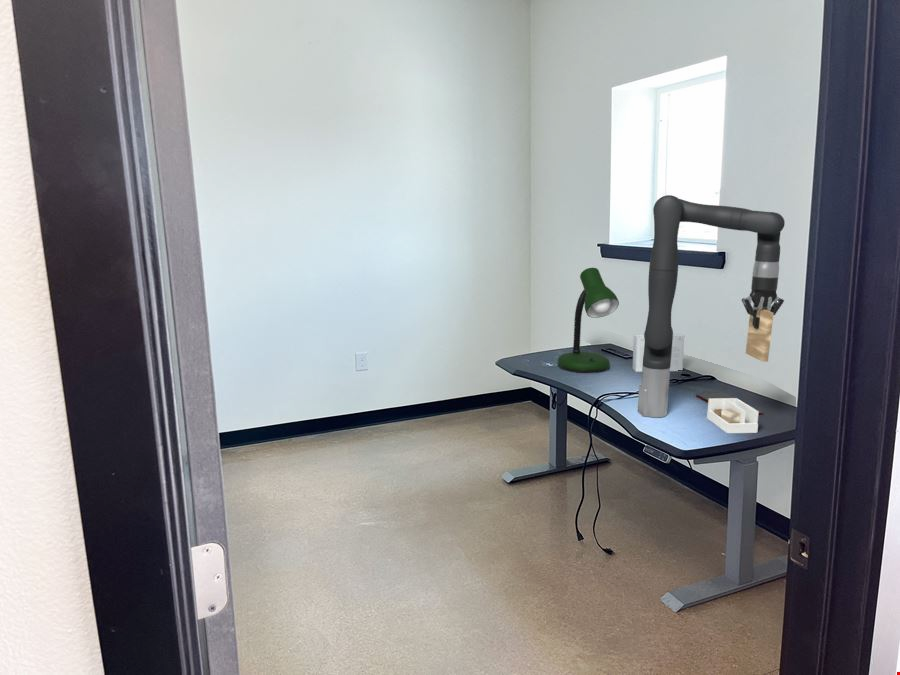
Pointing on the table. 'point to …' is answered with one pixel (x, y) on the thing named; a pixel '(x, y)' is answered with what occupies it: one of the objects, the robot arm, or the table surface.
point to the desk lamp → (596, 305)
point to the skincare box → (675, 356)
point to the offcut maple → (730, 415)
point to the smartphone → (708, 396)
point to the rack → (747, 413)
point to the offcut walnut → (718, 412)
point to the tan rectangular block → (760, 336)
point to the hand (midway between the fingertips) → (759, 327)
